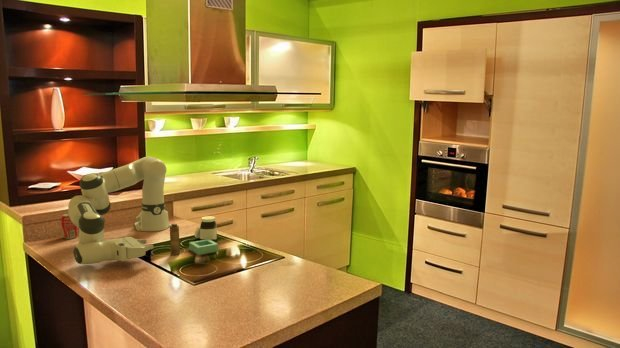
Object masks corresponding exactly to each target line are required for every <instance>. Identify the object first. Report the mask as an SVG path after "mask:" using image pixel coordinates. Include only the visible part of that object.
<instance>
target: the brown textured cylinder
mask: <svg viewBox="0 0 620 348" xmlns="http://www.w3.org/2000/svg"><path fill="white" fill-rule="evenodd" d="M169 238H170V239H169V240H170V255H171V256H172V255H173V256H174V257H175V256H176V255H177V256H179V254H180V255H181V248H180V245H181V244H180V226H179V225H178V224H177V223H171V226H170V227H169Z"/></svg>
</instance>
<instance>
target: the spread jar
mask: <svg viewBox="0 0 620 348" xmlns="http://www.w3.org/2000/svg"><path fill="white" fill-rule="evenodd" d="M200 221H201V222H200V225H199V226H198V227H197V228H196V229H195V231H194V237H195V238H197V239H200V241H201V240H206V239H210V240H212V241H214V242H216V241H217V238H218V237H217V236H218V227H217V226H218V225H217V222H216V216H211V215H210V216H209V215H208V216H202V217H201V220H200Z"/></svg>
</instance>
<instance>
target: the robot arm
mask: <svg viewBox="0 0 620 348" xmlns="http://www.w3.org/2000/svg"><path fill="white" fill-rule="evenodd" d="M166 174H167V166H166V164H165V163H164V161H163V160H162V159H159V158H156V157H154V156H149V155H148V156H144V157H142V158H139V159H137V160H135V161H132V162H129V163H127V164H125V165H122V166H119V167H117V168H116V167H115V168H112V169H109V170H107V171H105V172H103V173H100V174H98V173H92V172H91V173H87V174H85V175H84V176H82V177H81V178H80V180H79V188H80V191H81V194H82V195H81V194H80V195H75V196H73V197H71V198H70V200H69V203H68V208H67V209H68V210H67V211H68V213H69V216H70V219H71V221H72V223H73V224H74V225H75V226H77V228H78V233H79V234H78V244H77V245H76V246H74V248H73V257H74V260H75V261H76V263H77V264H79V265H92V264H99V263H102V262H104V261H105V262H106V261H107V262H113V261H119V262H126V261H128V260H131V259H137V258H140V257H143V256H145V255H146V252H148V251H150V250H153V249H154V244H152V243H150V244H147V243H148V242H147V239H146V238H143V239H139V238H134V237H132V236H125V237H121V238H120V237H118V238H112V239H107V240H104V239H105V238H104V237H105V225H106V219H105V217H103V216H104V215H107V213H109V211H111V205H112V204H111V201H110V197H109V193H113V192H117V191H120V190H122V189H126V188H129V187H131V186H134V185H136V184H137V183H139V182H141V181H143V185H142V189H141V192H142V193H141V195H142V198H141V199H142V202H141V211H140V212H139V213H138V216H135V220H136V222H134V227H135V229H136V231H138V232H141V231H142V232H160V231H163V230H167V229H169V228H170V226H172V223H170V222H169V220H170V219H169V212H168V211H167V210H166V202H165V198H164V197H165V195H164V193H165V191H164V188H165V179H166ZM145 244H147V245H145Z"/></svg>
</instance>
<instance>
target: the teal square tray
mask: <svg viewBox="0 0 620 348" xmlns="http://www.w3.org/2000/svg"><path fill="white" fill-rule="evenodd" d="M188 243H189V245H188V247H189V249H188V250H189V251H191V252H192V251H193V252H192V253H194V254H196V255H197V256H200V255H206V254H211V253H217V252H219V243H217V242H216V241H212V240H210V239H206V240H201V239H200V240H196V241H189V242H188Z"/></svg>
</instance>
